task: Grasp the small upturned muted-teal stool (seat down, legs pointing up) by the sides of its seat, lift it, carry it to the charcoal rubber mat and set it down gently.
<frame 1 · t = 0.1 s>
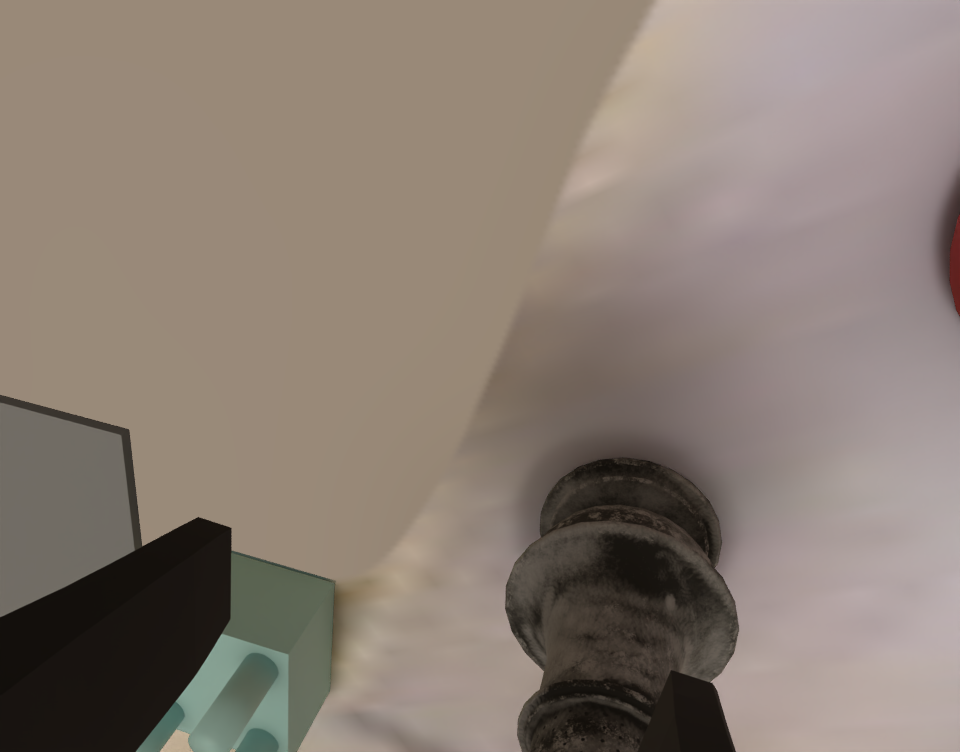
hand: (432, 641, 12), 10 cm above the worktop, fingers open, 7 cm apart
mat: (14, 542, 30), on the worktop
stool: (266, 616, 28), on the worktop
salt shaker: (628, 530, 22), on the worktop
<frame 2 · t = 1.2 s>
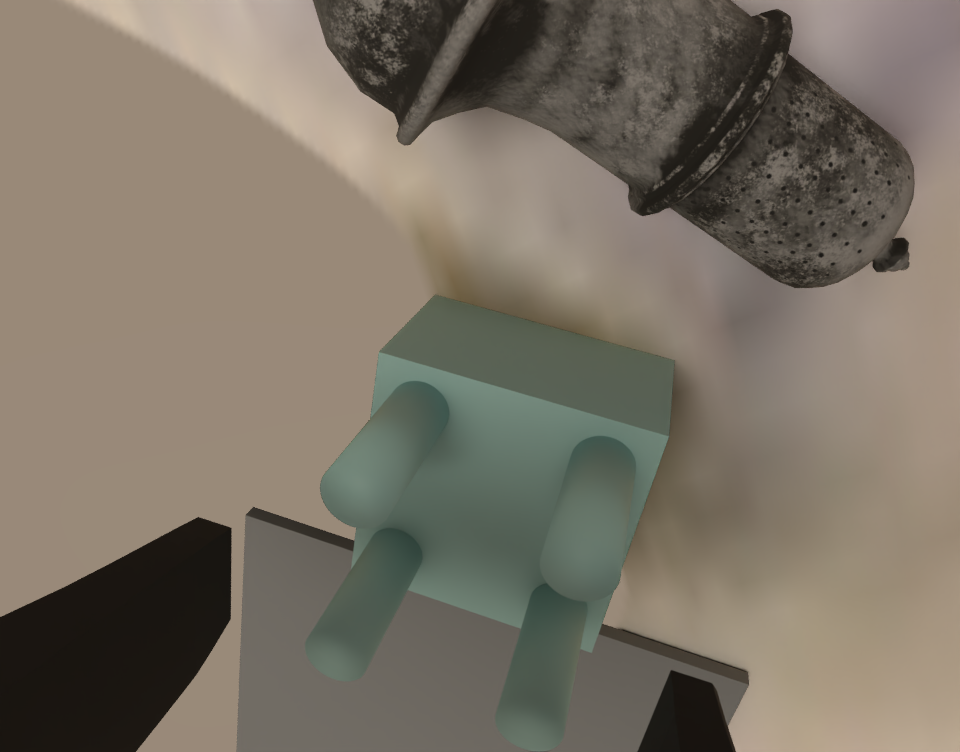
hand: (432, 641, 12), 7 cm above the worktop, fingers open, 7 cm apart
mat: (451, 728, 23), on the worktop
stool: (527, 427, 18), on the worktop
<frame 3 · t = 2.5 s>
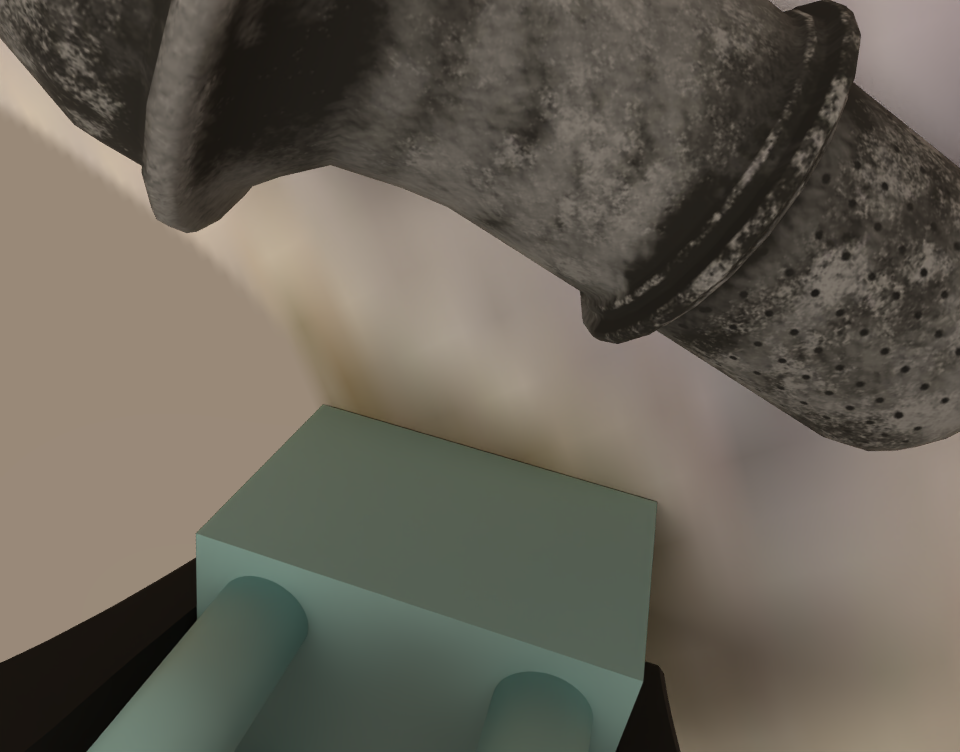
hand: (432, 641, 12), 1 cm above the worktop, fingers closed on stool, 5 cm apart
stool: (457, 581, 13), on the worktop, touching gripper
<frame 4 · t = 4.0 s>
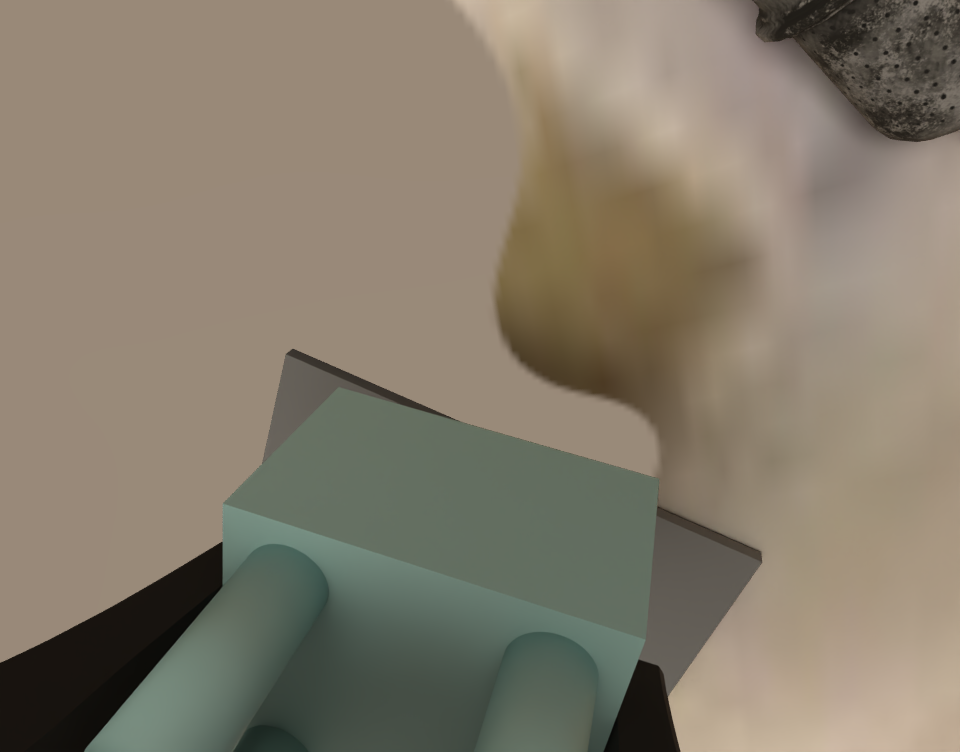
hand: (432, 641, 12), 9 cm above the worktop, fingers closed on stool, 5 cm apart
mat: (456, 595, 23), on the worktop
stool: (467, 558, 13), point 7 cm above the worktop, touching gripper
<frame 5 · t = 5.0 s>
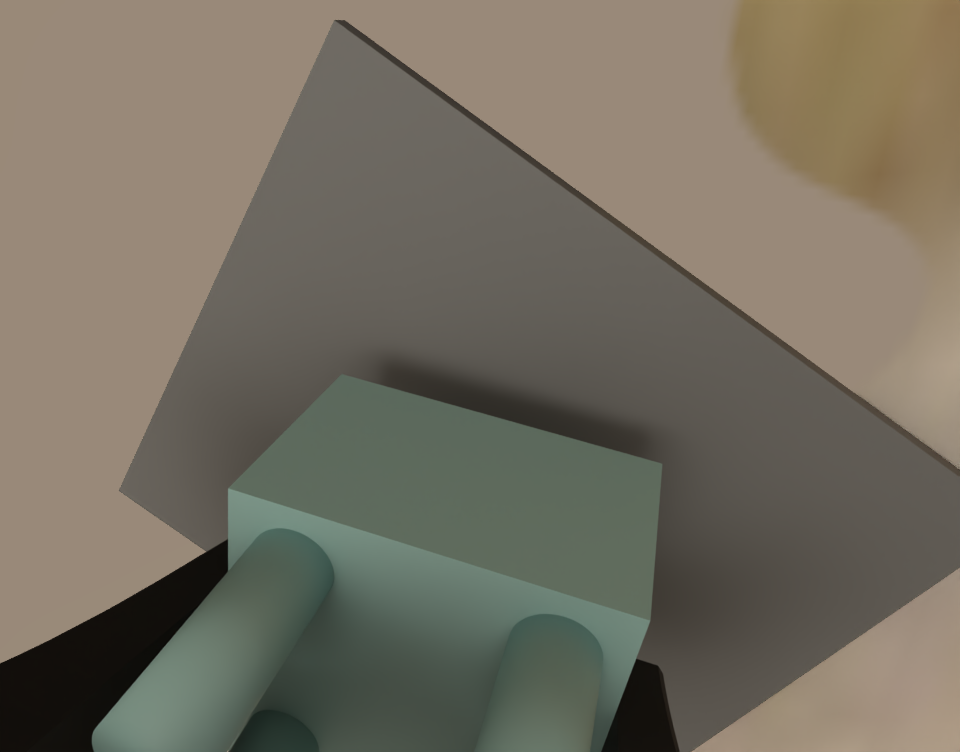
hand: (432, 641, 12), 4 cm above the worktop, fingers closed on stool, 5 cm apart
mat: (495, 493, 15), on the worktop
stool: (470, 544, 13), point 2 cm above the worktop, touching gripper
when the fingers open (3 cm above the worktop, at t = 5.8 s): stool stays where it is, resting on mat.
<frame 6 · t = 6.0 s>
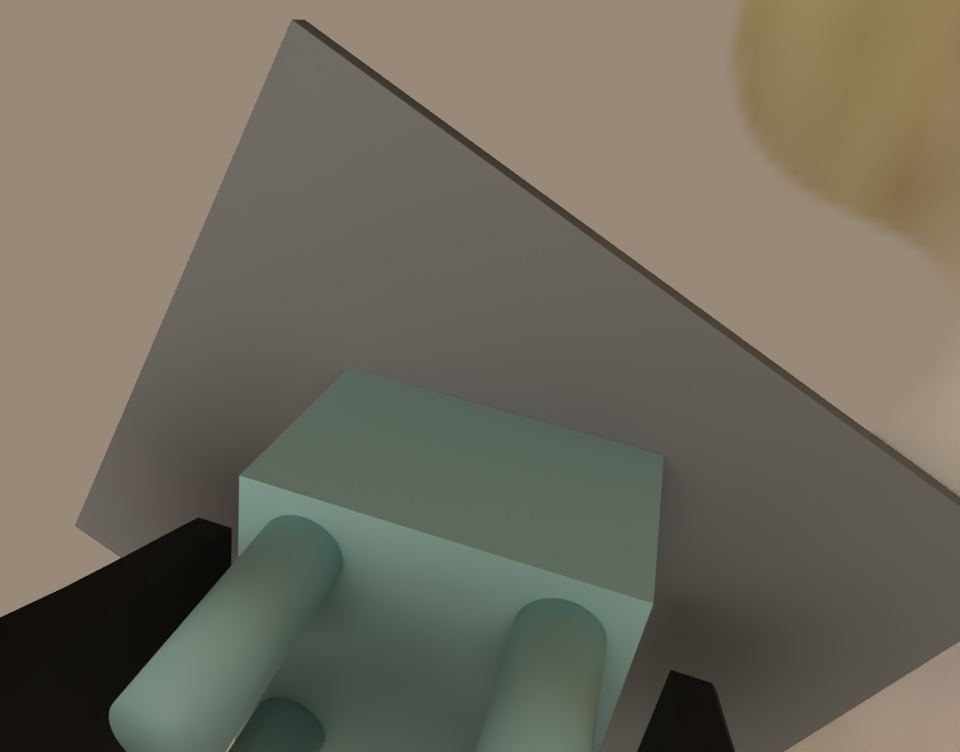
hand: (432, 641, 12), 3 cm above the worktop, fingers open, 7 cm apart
mat: (477, 534, 14), on the worktop
stool: (474, 537, 14), resting on mat
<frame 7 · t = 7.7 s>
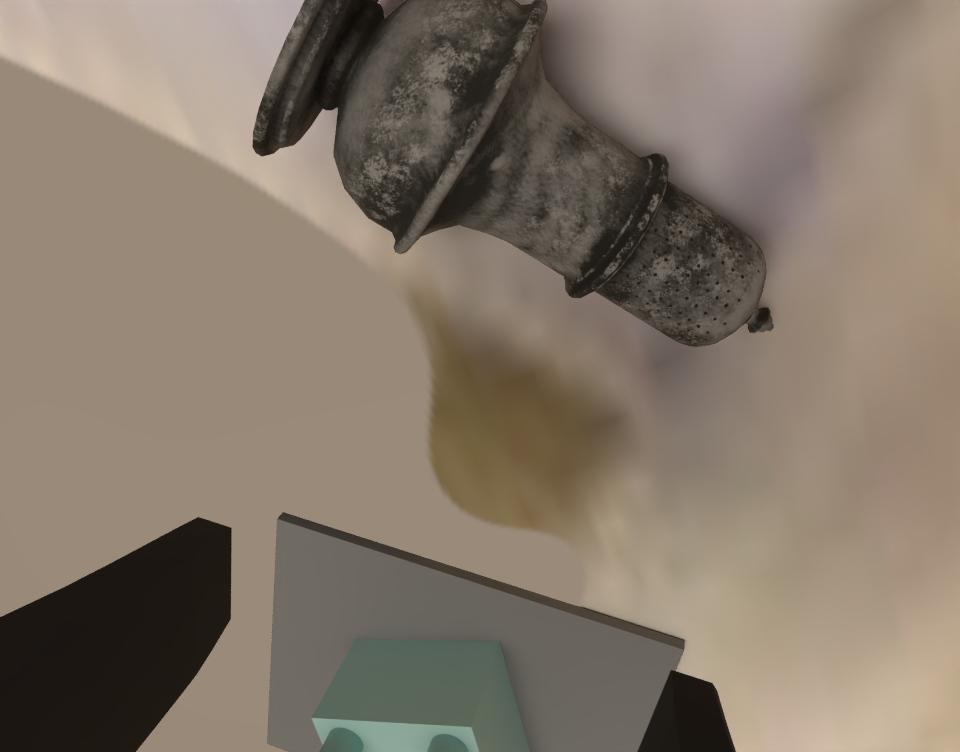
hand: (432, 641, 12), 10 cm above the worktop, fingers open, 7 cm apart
mat: (448, 694, 27), on the worktop
stool: (444, 698, 27), resting on mat
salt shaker: (308, 30, 15), point 4 cm above the worktop
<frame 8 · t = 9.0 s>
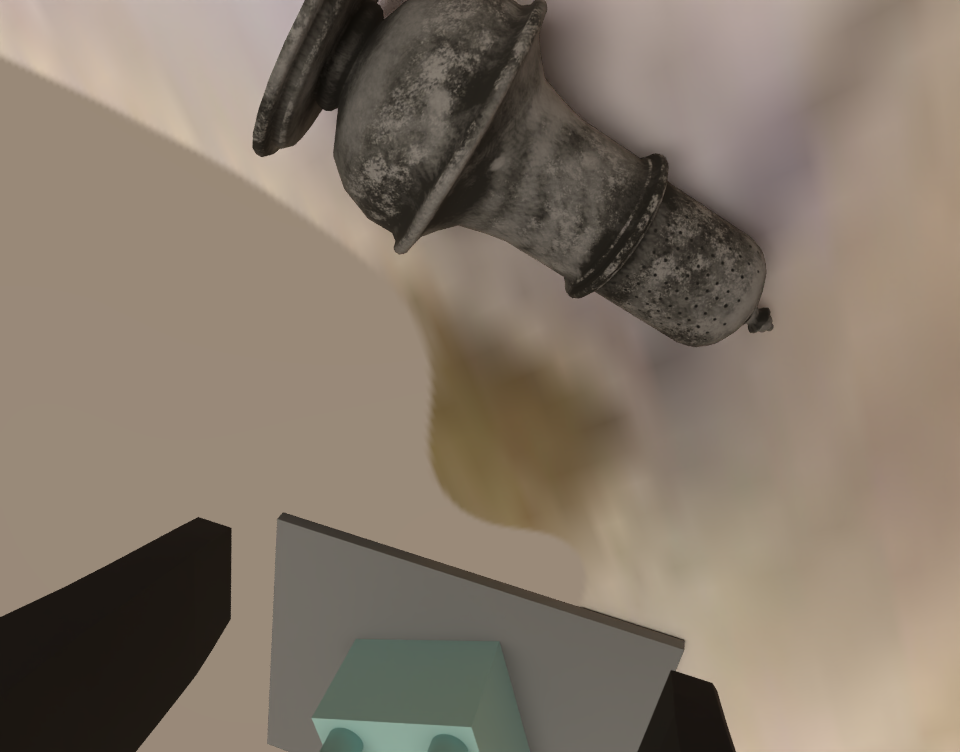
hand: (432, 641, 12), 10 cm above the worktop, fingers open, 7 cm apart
mat: (448, 694, 27), on the worktop
stool: (444, 698, 27), resting on mat
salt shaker: (308, 31, 15), point 4 cm above the worktop
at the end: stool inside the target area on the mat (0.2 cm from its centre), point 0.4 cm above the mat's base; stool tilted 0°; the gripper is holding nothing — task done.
